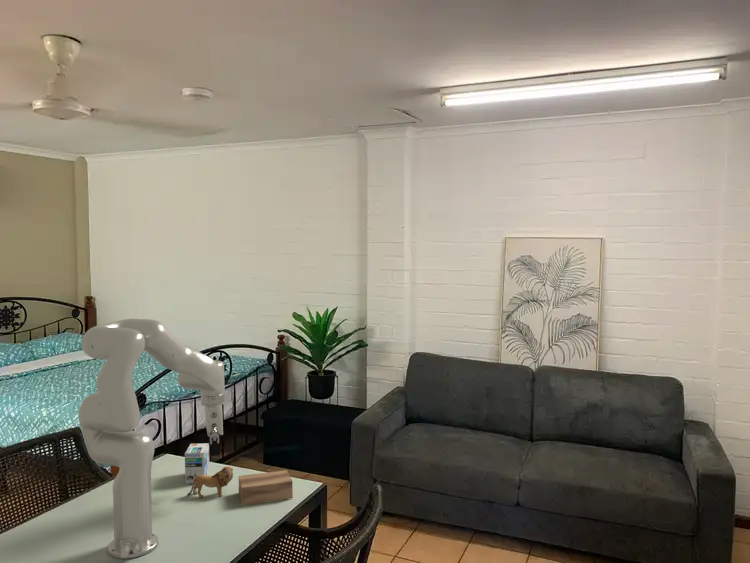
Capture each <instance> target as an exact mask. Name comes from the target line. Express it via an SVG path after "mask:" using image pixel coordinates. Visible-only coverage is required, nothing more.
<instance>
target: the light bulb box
mask: <svg viewBox="0 0 750 563" xmlns="http://www.w3.org/2000/svg"><path fill="white" fill-rule="evenodd" d="M184 471H185V472H184V473H185V474H184V476H185V478H184V479H185V481H184V482H185V484H187V485H188V484H193V481H194V479H195V478H196V477H197V476H199V475H205V476H209V475H210V448H209V442H207V443H206V442H205V443H190V444H189V446H188V447H187V449H186V451H185V452H184ZM195 484H196V482H195Z"/></svg>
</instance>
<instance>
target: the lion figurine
mask: <svg viewBox="0 0 750 563" xmlns="http://www.w3.org/2000/svg"><path fill="white" fill-rule="evenodd" d="M233 477H234V472H233V468H232V467H230V466H227V465H226V466H224V467H223V468H222V469H221V470H219V471H218V472H216V473H215V474H213V475H208V476H205V475H199V476H197V477H196V478H195V479H194V481H193V483H192V485H191V488H190V489H191V490H190V491H189V492H188V493H187V495H186V496H191V495H192V494H193V495H197V494H198V497H199V498H200V499H203V498H204V494H201V492H202V489H203V485H204V486H205V487H206V488H211V489H212V488H216V489H217V496H218V497H219V498H222V497H224V495H223V491H222V488H223V487H227V486H228V484H229V483H231V481H232V480H233ZM195 482H196V483H195ZM192 492H193V493H192Z"/></svg>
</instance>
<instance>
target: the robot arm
mask: <svg viewBox="0 0 750 563" xmlns="http://www.w3.org/2000/svg"><path fill="white" fill-rule="evenodd" d="M81 348H82V351H83V352H84V353H85V355H87V356H88V357H90V358H92V359H97V360H105V363H104V365H103V366H102V368H101V369H100V370H99V372H98V375H97V378H96V383H95V384H96V389H97V390H96V391H97V392H95V393H92V394H90V395H88V396H86V397H85V398H84V400H82V402H81V404H80V405H79V410H78V423H79V427H80V430H81V434H82V437H83V439H84V444H85V447H86V450H87V453H88V455H89V457H90V459H92V461H94V462H96V463H98V464H102V465H106V466H107V465H108V466H113V467H118V470H119V471H118V473H117V474H116V476H115V478H114V481H113V483H112V496H113V497H112V501H113V502H112V505H113V540H111V542H109V544H108V545H107V553H108V555H110V556H111V557H113V558H116V559H132V558H137V557H141V556H143V555H144V556H145V555H146V554H148V553H150V552H152V551H154V550H155V549H156V547H157V546H158V544H159V537H158V536H157V535H156V534H155V533H153V518H152V516H153V515H152V514H153V512H152V468H153V467H152V466H153V460H154V454H155V442H154V440H153V438H152V437H151V435H149V434H147V433H145V432H142V431H137V430H135V429H137V427H138V426H139V423H140V420H141V411H140V406H139V404H138V398H137V395H136V392H135V387H134V383H133V372H134V370H135V368H136V366H137V363H138V361H139V360H140V358H141V356H142V354H143V352H144V351H145V352H146V353H147V354H148V355H149V356H150V357H152V358H153V360H155V361H156V362H157V363H159V365H160V366H162V367H164V368H165V369H167V370H171V371H173V372H177V373H178V374H177V383H178V385H180V387H181V388H183V389H186V390H193V391H194V390H195V391H200V405H201V406H203V407H204V410H205V411H204V412H205V415H204V417H205V426H206V432H207V436H208V443H209V457H215V456H220V455H221V443H220V436H223V435H224V426H223V425H224V422H223V420H224V419H223V405H224V404H225V403H226V394H225V393H226V392H225V391H226V390H225V364H224V362H223V361H221V360H218V359H217V360H215V359H213V358H211V357H210V356H208V355H206V354H204V353H202V352H200V351H198V350H196V349H194V348H193V347H191V346H189V345H186V344H184V343H183V342H182V341H181V340H180V339H179V338H178V337H177V336H176V335H175V334H174V333H173V332H172V331H171V330H170V329H169V328H168V327H167V326H165V324H163V323H162V322H161V321H159V320H156V319H145V318H125V319H120V320H117V321H112V322H109V323H103V324H99V325H96V326H95V325H94V326H93V327H91V328H89V329H87V331H86V332H85V333H84V335H83V336H82V338H81Z"/></svg>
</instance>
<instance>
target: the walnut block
mask: <svg viewBox="0 0 750 563" xmlns="http://www.w3.org/2000/svg"><path fill="white" fill-rule="evenodd" d="M238 495H240V496H239V499H240V502H241V503H240V504H241V506H249V505H255V503H257V504H264V503H269V502H268V501H272V502H276V501H275V500H279V501H281V500H280V499H286V500H288V499H287V498H293V480H292V478H291V476H290V474H289V472H288V470H285V469H284V470H278V471H269V472H262V473H261V472H260V473H253V474H252V473H251V474H245V475H244V474H243V475H238ZM263 502H264V503H263ZM248 504H249V505H248Z"/></svg>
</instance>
